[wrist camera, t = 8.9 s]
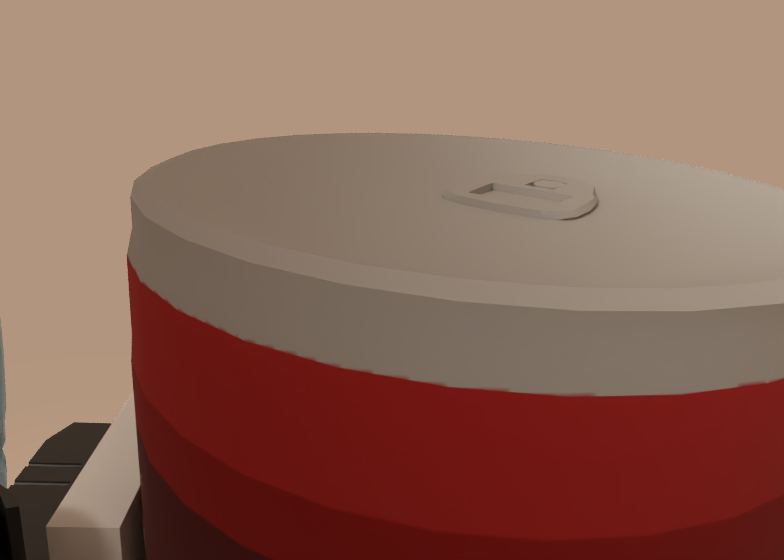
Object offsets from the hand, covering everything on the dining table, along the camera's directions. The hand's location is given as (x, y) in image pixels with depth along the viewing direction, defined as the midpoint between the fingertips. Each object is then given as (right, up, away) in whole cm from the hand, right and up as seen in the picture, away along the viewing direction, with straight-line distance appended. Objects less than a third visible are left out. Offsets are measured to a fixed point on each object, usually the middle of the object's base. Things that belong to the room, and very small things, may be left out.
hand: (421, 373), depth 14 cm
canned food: (0, -7, -3) cm, 8 cm away
